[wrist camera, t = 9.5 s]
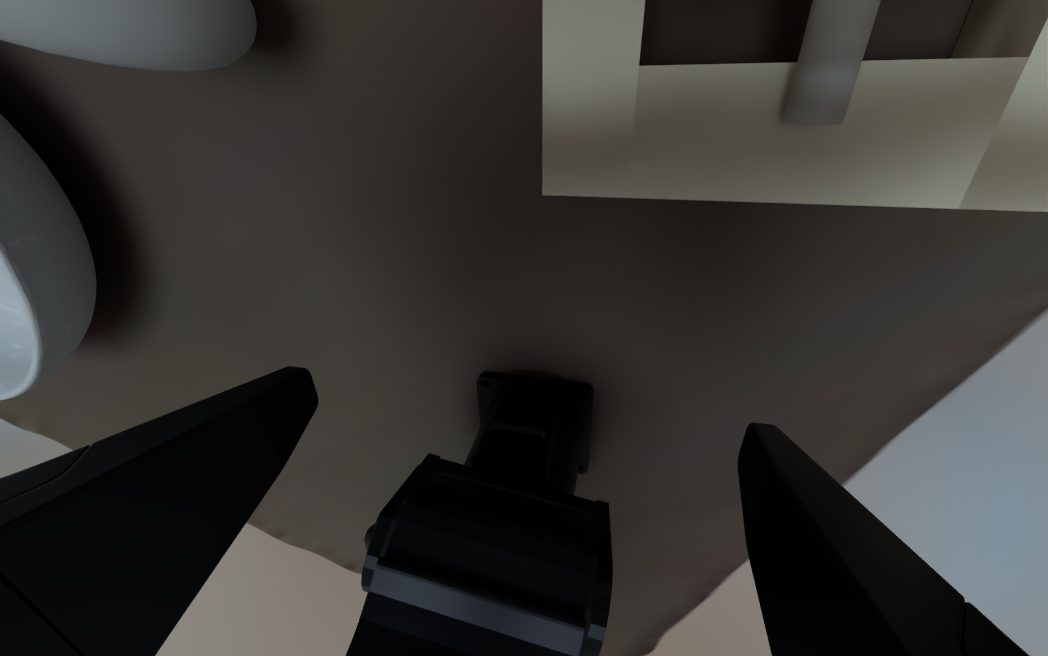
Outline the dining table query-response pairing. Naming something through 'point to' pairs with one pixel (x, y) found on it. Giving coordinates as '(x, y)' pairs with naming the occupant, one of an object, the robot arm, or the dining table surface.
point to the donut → (134, 31)
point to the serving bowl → (38, 269)
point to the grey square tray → (800, 114)
